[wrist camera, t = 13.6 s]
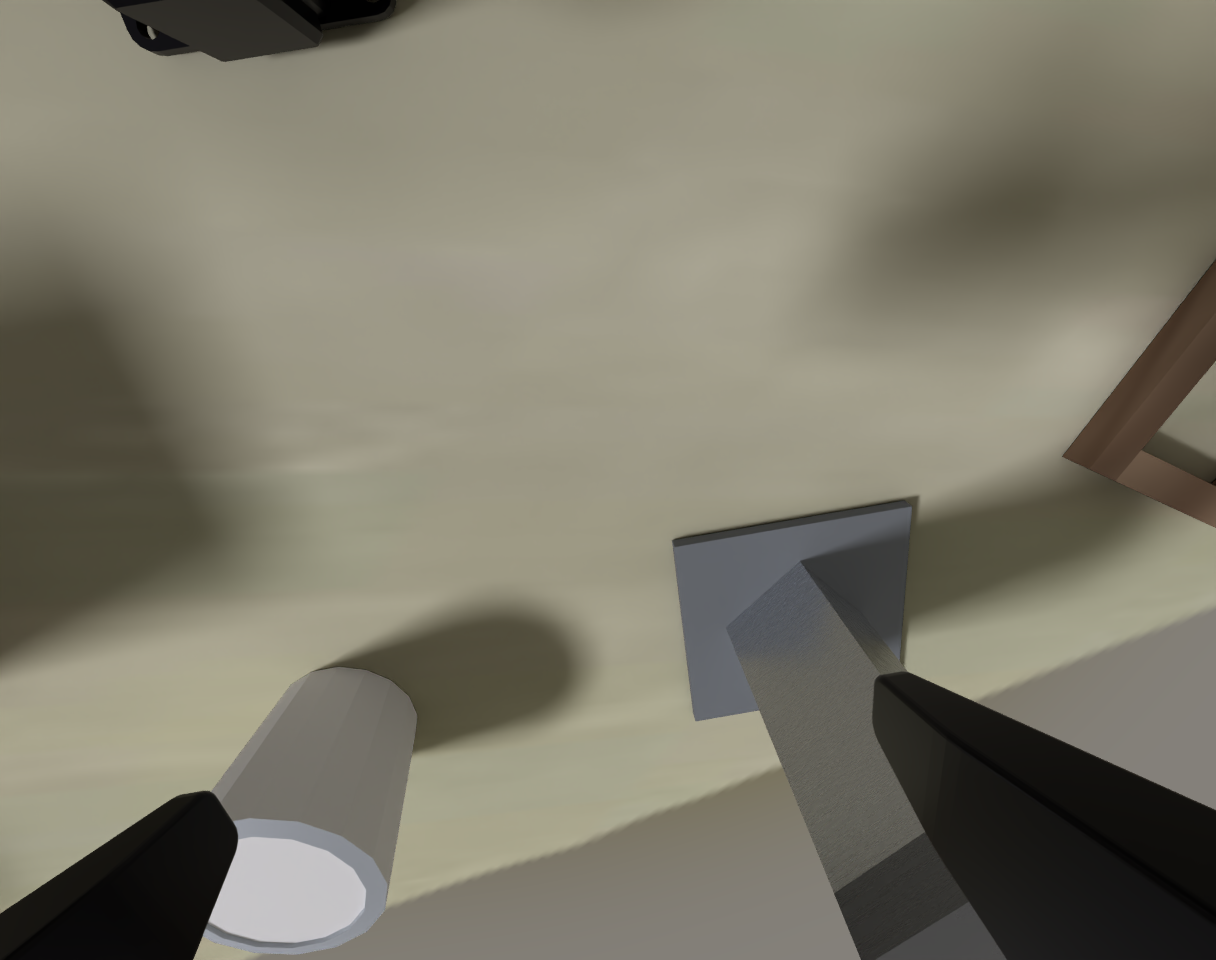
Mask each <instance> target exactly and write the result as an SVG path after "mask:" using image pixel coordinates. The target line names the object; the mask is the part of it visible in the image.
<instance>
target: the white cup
mask: <svg viewBox="0 0 1216 960" xmlns="http://www.w3.org/2000/svg"><path fill="white" fill-rule="evenodd" d="M416 725H417V713H416V711H415V709H414V706H413V704H412V702H411V699H410V697H409V696H408V695H407V694H406V693H405V692H404V691H402V690H401V689H400V688H399V687H398V686H397V685H396V684H395V683H394V682H392V681H391V680H389V679H387V678H384V677H382V676H380V675H377V674H375V673H372V672H370V671H368V670H363V669H354V668H345V667H334V668H329V669H324V670H319V671H313V672H310V673H309V674H307V675H306V676H304V677H302V678H301V679H299V680H297V681H296V682H294V683H292V684H291V685H290V686H289V688H288V689H287V690H286V692H285V693H284V694H283V696H282V697H281V698H280V700H279V701H278V702H277V704H276V705H275V707H274V708H273V709H272V711H271V712H270V713H269V715H268V716H267V717H266V719H265V720H264V721H263V723H262V724H261V725H260V727H259V728H258V729H257V731H256V732H255V733H254V735H253V736H252V737H251V739H250V740H249V741H248V743H247V744H246V745H245V747H244V748H243V749H242V751H241V752H240V753H239V755H238V756H237V758H236V759H235V760H234V762H233V763H232V764H231V766H230V767H229V768H228V770H227V771H226V772H225V774H224V775H223V776H222V778H221V779H220V780H219V782H218V783H217V784H216V786H215V787H214V788H213V790H212V791H211V792H212V793H214V794H215V795H216V796H217V798H218V800H219V801H220V803H221V804H222V806H223V807H224V809H225V810H226V812H227V813H228V815H229V816H230V818H231V819H232V821H233V822H234V824H235V826H236V828H237V831H238V845H237V850H236V853H235V856H234V858H233V861H232V863H231V866H230V868H229V871H228V873H227V876H226V879H225V881H224V884H223V886H222V889H221V891H220V894H219V896H218V899H217V901H216V904H215V906H214V909H213V911H212V914H211V916H210V919H209V921H208V924H207V926H206V929H205V931H204V934H203V937H205V938H207V939H209V940H211V941H212V942H214V943H218V944H222V945H226V946H230V947H234V948H238V949H242V950H246V951H249V952H253V953H273V954H302V953H307V952H313V951H318V950H322V949H328V948H334V947H337V946H339V945H341V944H343V943H345V942H347V941H349V940H351V939H353V938H355V937H357V936H359V935H361V934H363V933H365V932H367V931H368V929H369V928H370V927H371V926H372V925H373V924H374V922H375V921H376V920H377V919H378V918H379V916H380V915H381V914H382V913H383V912H384V910H385V906H386V901H387V895H388V889H389V883H390V878H391V872H392V866H393V860H394V855H395V849H396V843H397V837H398V832H399V826H400V820H401V814H402V809H403V803H404V797H405V791H406V785H407V780H408V774H409V768H410V762H411V757H412V751H413V745H414V739H415V733H416Z"/></svg>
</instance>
